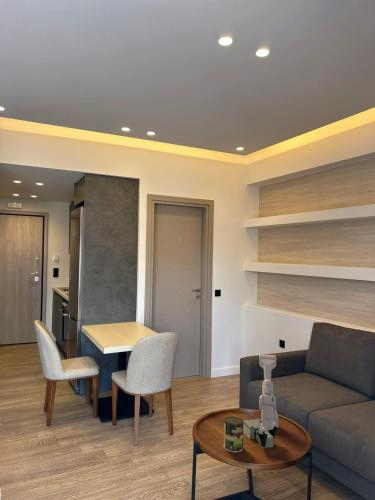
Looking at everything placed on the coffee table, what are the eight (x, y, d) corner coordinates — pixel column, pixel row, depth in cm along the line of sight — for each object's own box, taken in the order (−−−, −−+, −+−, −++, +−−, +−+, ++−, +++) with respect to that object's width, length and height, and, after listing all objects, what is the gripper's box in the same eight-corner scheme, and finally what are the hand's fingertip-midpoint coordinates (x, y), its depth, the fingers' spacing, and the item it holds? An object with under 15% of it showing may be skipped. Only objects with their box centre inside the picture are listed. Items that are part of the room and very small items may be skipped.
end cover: (264, 438, 202) (264, 428, 203) (273, 446, 192) (273, 437, 193) (255, 439, 201) (255, 429, 201) (264, 448, 191) (264, 438, 191)
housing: (259, 429, 214) (259, 418, 214) (267, 437, 204) (268, 425, 204) (242, 431, 211) (242, 420, 211) (249, 439, 201) (249, 427, 202)
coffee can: (247, 450, 189) (247, 422, 189) (229, 454, 184) (230, 425, 185) (236, 441, 198) (237, 415, 199) (219, 445, 194) (220, 417, 195)
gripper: (267, 411, 202) (267, 436, 201) (253, 419, 192) (253, 445, 191) (279, 414, 197) (279, 440, 197) (265, 422, 187) (265, 450, 186)
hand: (267, 443), depth 193 cm, fingers open, 7 cm apart
